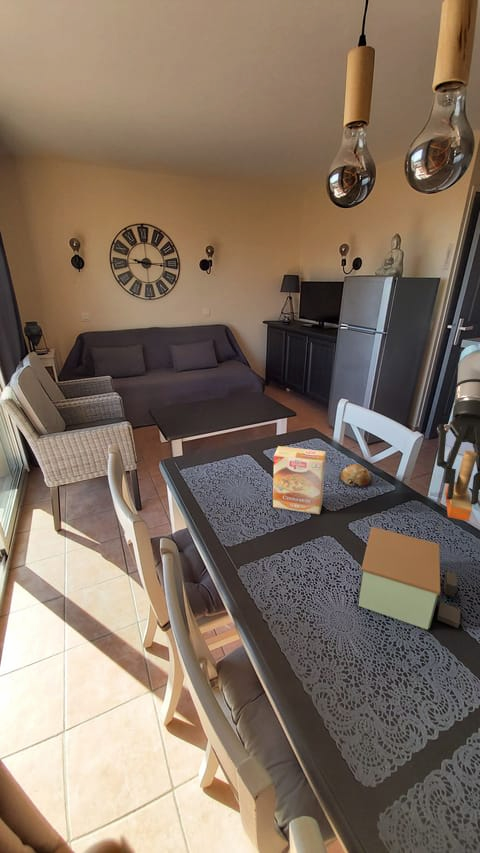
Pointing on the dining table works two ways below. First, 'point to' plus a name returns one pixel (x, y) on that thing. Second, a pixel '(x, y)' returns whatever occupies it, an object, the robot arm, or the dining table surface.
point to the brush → (462, 490)
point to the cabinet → (401, 577)
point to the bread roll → (356, 475)
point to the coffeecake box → (298, 479)
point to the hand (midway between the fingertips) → (461, 500)
